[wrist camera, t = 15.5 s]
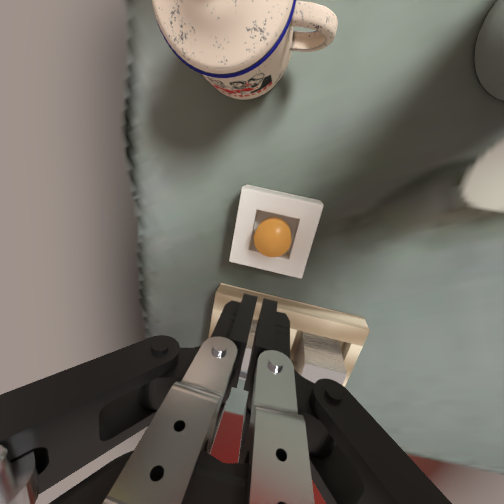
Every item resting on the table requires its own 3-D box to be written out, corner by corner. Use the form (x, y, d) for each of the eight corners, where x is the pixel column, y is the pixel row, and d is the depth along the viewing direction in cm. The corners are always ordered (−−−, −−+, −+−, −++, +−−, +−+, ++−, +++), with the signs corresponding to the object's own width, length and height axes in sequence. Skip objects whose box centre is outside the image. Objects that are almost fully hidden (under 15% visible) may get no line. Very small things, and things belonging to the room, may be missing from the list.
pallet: (221, 282, 32) (215, 292, 30) (363, 317, 31) (369, 330, 29) (209, 350, 36) (204, 363, 34) (335, 383, 35) (339, 399, 33)
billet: (302, 327, 32) (305, 364, 26) (337, 336, 32) (347, 375, 26) (293, 354, 34) (294, 394, 28) (326, 363, 34) (334, 405, 28)
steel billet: (233, 310, 33) (221, 342, 27) (267, 318, 32) (262, 353, 27) (228, 337, 34) (215, 373, 29) (260, 345, 34) (253, 383, 28)
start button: (260, 213, 26) (257, 217, 24) (295, 221, 25) (295, 226, 24) (253, 246, 27) (250, 252, 25) (286, 253, 27) (286, 260, 25)
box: (246, 184, 27) (242, 187, 25) (320, 200, 27) (323, 205, 24) (234, 252, 30) (229, 261, 28) (300, 267, 30) (301, 278, 27)
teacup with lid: (193, 95, 25) (120, 47, 14) (202, -25, 22) (116, -203, 11) (313, 115, 24) (332, 80, 14) (341, -7, 21) (394, -181, 10)
